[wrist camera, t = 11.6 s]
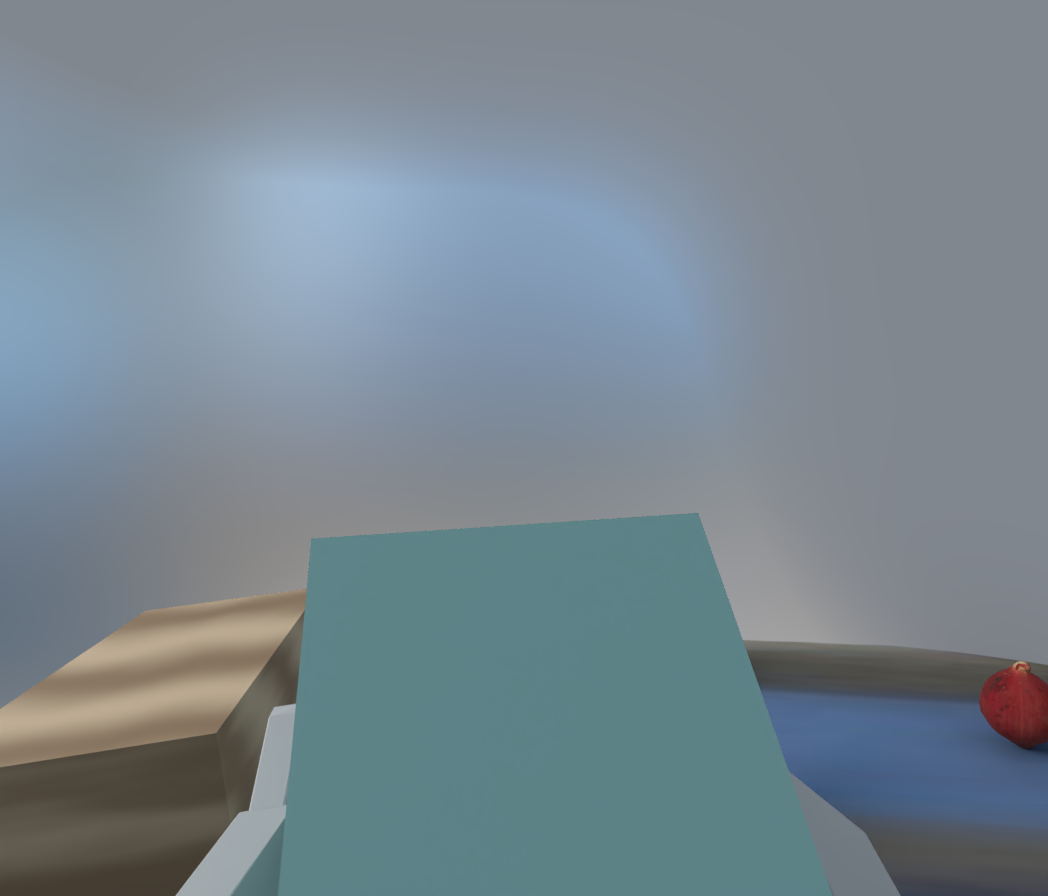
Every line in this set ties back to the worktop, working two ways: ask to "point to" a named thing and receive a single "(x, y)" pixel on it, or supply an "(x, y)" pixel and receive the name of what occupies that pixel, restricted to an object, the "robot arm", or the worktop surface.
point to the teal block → (534, 721)
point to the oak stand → (143, 748)
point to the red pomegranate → (1017, 705)
